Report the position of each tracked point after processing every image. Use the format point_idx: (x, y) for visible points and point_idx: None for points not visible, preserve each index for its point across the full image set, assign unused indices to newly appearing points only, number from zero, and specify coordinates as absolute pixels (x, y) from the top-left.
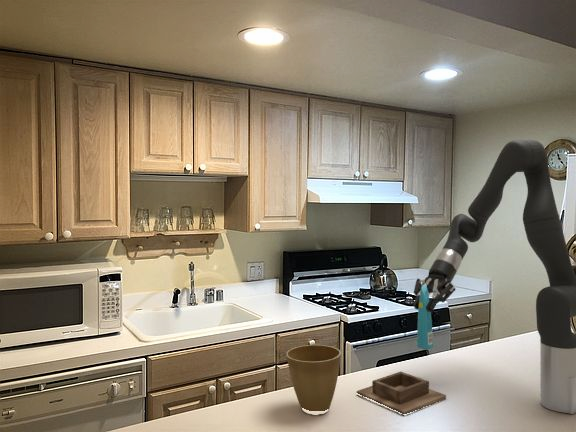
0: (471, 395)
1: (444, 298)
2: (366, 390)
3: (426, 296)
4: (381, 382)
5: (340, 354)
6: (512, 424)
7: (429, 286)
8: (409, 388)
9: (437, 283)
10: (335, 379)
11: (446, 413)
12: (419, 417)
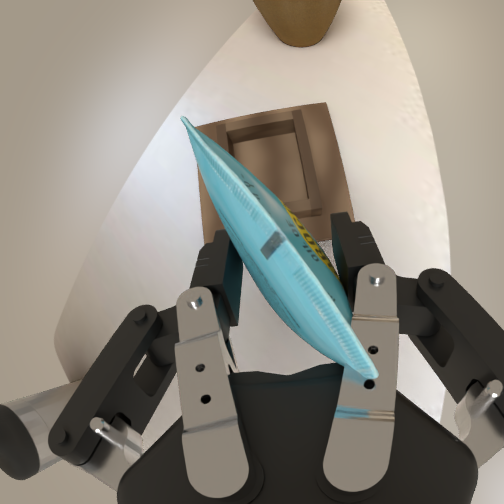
0: None
1: (152, 367)
2: (319, 120)
3: (246, 254)
4: (281, 120)
5: None
6: (86, 276)
7: (319, 392)
8: None
9: (187, 431)
10: (257, 4)
11: (163, 207)
12: (180, 152)
